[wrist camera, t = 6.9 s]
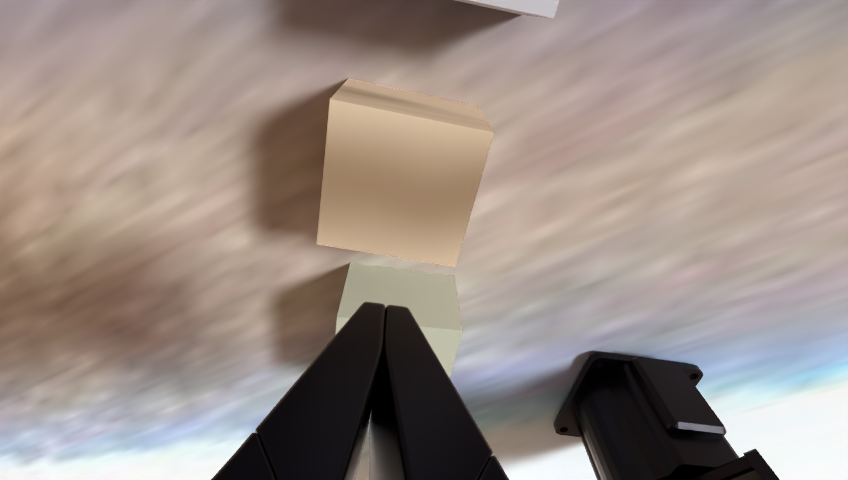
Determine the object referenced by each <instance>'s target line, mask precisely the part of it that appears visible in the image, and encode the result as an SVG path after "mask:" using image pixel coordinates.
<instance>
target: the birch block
mask: <svg viewBox="0 0 848 480" xmlns="http://www.w3.org/2000/svg"><path fill="white" fill-rule="evenodd" d="M493 135H494V131H493V130H492V128H491V126H490V125H489V123H488V121H487V120H486V118H485V117H484V115H483V113H482V112H481V110H480V108H479V107H478V106H477V105H473V104H468V103H463V102H458V101H454V100H449V99H444V98H439V97H435V96H430V95H425V94H420V93H416V92H411V91H406V90H401V89H397V88H392V87H387V86H382V85H378V84H373V83H368V82H364V81H359V80H354V79H349V78H348V79H347V80H346V81H345V83H344V84H343V85H342V86H341V87H340V88H339V89H338V90H337V92H336V93H335V94H334V95H333V96H332V97H331V98H330V103H329V114H328V125H327V136H326V147H325V158H324V169H323V180H322V191H321V202H320V213H319V224H318V235H317V244H318V245H324V246H330V247H336V248H342V249H348V250H354V251H360V252H367V253H373V254H379V255H385V256H391V257H397V258H403V259H409V260H415V261H422V262H428V263H434V264H440V265H446V266H452V267H456V263H457V260H458V256H459V253H460V249H461V246H462V242H463V239H464V236H465V232H466V229H467V225H468V222H469V218H470V215H471V211H472V208H473V205H474V201H475V198H476V194H477V191H478V187H479V184H480V180H481V177H482V173H483V170H484V167H485V163H486V160H487V156H488V153H489V149H490V146H491V142H492V139H493Z"/></svg>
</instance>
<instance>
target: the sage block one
mask: <svg viewBox="0 0 848 480" xmlns="http://www.w3.org/2000/svg"><path fill="white" fill-rule="evenodd" d="M364 302H375V303H382V304H384V305H385V307H387V305H397V306H404V307H407V308H408V309H409V310H410V311H411V313H412V315H413V317H414V318H415V320H416V322H417V323H418V325H419V327H420V329H421V330H422V332H423V334H424V335H425V337H426V339H427V341H428V342H429V344H430V346H431V347H432V349H433V351H434V352H435V354H436V356H437V358H438V359H439V361H440V363H441V364H442V366H443V368H444V370H445V371H446V373H447V375H448V376H449V378H450V375H451V371H452V368H453V364H454V361H455V357H456V353H457V350H458V346H459V342H460V339H461V335H462V331H463V330H462V323H461V316H460V309H459V303H458V296H457V289H456V282H455V276H452V275H444V274H436V273H428V272H420V271H412V270H404V269H396V268H388V267H380V266H372V265H364V264H356V263H350V266H349V270H348V274H347V278H346V282H345V286H344V290H343V294H342V298H341V302H340V306H339V310H338V314H337V322H336V334H337V333H338V332H339V331H340V329H341V328H342V327H343V326H344V325H345V323H346V322H347V321H348V320H349V319H350V318H351V316H352V315H353V314H354V313H355V312H356V311H357V309H358V308H359V307H360V306H361V305H362V304H363V303H364Z"/></svg>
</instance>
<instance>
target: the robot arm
mask: <svg viewBox="0 0 848 480" xmlns="http://www.w3.org/2000/svg"><path fill="white" fill-rule="evenodd" d="M702 376H703V373H702V371H701V370H700V369H699V367H698V366H696V365H692V364H685V363H677V362H670V361H662V360H655V359H647V358H640V357H632V356H625V355H617V354H610V353H602V352H597V353H594V354H592V355H591V356H590V357H589V358H588V360H587V362H586V364H585V366H584V367H583V369H582V371H581V373H580V375H579V377H578V379H577V381H576V383H575V384H574V386H573V388H572V390H571V392H570V394H569V396H568V398H567V400H566V401H565V403H564V405H563V407H562V409H561V411H560V413H559V415H558V417H557V418H556V420H555V422H554V428H555V431H556V433H557V434H560V435H567V436H576V437H581V438H582V441H583V444H584V446H585V449H586V452H587V454H588V457H589V459H590V462H591V465H592V467H593V470H594V472H595V475H596V478H597V480H779V478H778V477H777V476H776V474H775V473H774V472H773V471H772V469H771V468H770V467H769V465H768V464H767V463H766V461H765V460H764V459H763V458H762V456H761V455H760V454H759V452H758V451H757V450H756V449H753V450H751V451H748V452H746V453H743V454H744V456H743V457H740V458H739V457H738V455H737V454H736V453H735V451H734V450H733V448H732V447H731V446H730V444H729V443H728V441H727V440H726V438H725V437H724V435H725V434H726V429H725V427H724V425H723V424H722V422H721V421H720V420H719V418H718V417H717V416H716V414H715V413H714V411H713V410H712V409H711V407H710V406H709V405H708V403H707V402H706V401H705V399H704V398H703V396H702V395H701V394H700V392H699V391H698V390H697V388H696V387H695V386H696V385H697V384H698V382H699V381H700V380H701V378H702ZM370 414H371V416H370ZM369 419H370V436H369V444H370V480H509V479H508V477H507V475H506V474H505V472H504V470H503V469H502V467H501V465H500V463H499V462H498V460H497V458H496V457H495V456H492V450H491V448H490V447H489V445H488V443H487V441H486V440H485V438H484V436H483V435H482V433H481V431H480V429H479V428H478V426H477V424H476V423H475V421H474V419H473V417H472V416H471V414H470V412H469V411H468V409H467V407H466V406H465V404H464V402H463V400H462V399H461V397H460V395H459V394H458V392H457V390H456V388H455V387H454V385H453V383H452V382H451V380H450V378H449V376H448V375H447V373H446V371H445V370H444V368H443V366H442V364H441V363H440V361H439V359H438V358H437V356H436V354H435V352H434V351H433V349H432V347H431V346H430V344H429V342H428V341H427V339H426V337H425V335H424V334H423V332H422V330H421V329H420V327H419V325H418V323H417V322H416V320H415V318H414V317H413V315H412V313H411V311H410V310H409V309H408V308H407V307H404V306H397V305H387V307H385V305H384V304H382V303H375V302H364V303H363V304H362V305H361V306H360V307H359V308H358V309H357V311H356V312H355V313H354V314H353V315H352V316H351V318H350V319H349V320H348V321H347V322H346V323H345V325H344V326H343V327H342V328H341V329H340V331H339V332H338V333H337V334H336V335H335V336H334V338H333V339H332V340H331V341H330V342H329V343H328V345H327V346H326V347H325V348H324V349H323V351H322V352H321V353H320V354H319V355H318V356H317V358H316V359H315V360H314V361H313V362H312V363H311V365H310V366H309V367H308V368H307V369H306V371H305V372H304V373H303V374H302V375H301V376H300V378H299V379H298V380H297V381H296V382H295V383H294V385H293V386H292V387H291V388H290V389H289V391H288V392H287V393H286V394H285V395H284V396H283V398H282V399H281V400H280V401H279V402H278V403H277V405H276V406H275V407H274V408H273V409H272V411H271V412H270V413H269V414H268V415H267V416H266V418H265V419H264V420H263V421H262V422H261V423H260V425H259V426H258V427H257V428H256V433H252V434H251V435H250V436H249V437H248V438H247V440H246V441H245V442H244V443H243V444H242V445H241V447H240V448H239V449H238V450H237V451H236V453H235V454H234V455H233V456H232V457H231V458H230V459H229V460H228V462H227V463H226V464H225V465H224V466H223V467H222V468H221V469H220V470H219V472H218V473H217V474H216V475H215V476H214V477H213V478H212V479H211V480H355V478H356V474H357V470H358V466H359V462H360V458H361V454H362V450H363V446H364V442H365V438H366V433H367V429H368V424H369Z"/></svg>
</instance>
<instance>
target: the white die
mask: <svg viewBox="0 0 848 480" xmlns="http://www.w3.org/2000/svg"><path fill="white" fill-rule="evenodd" d="M454 1H459V2H464V3H468V4H473V5H478V6H482V7H487V8H492V9H497V10H501V11H506V12H511V13H515V14H520V15H527V16H536V17H545V18H554V17H555V14H556V10H557V7H558V3H559V0H454Z"/></svg>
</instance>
